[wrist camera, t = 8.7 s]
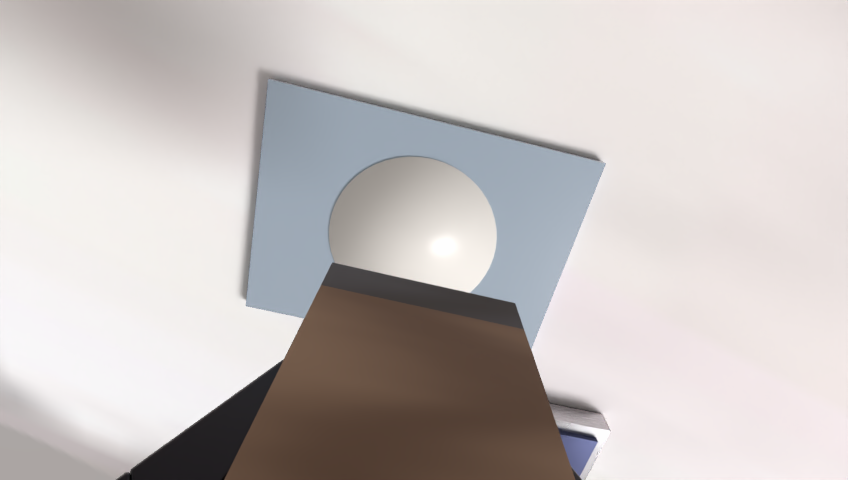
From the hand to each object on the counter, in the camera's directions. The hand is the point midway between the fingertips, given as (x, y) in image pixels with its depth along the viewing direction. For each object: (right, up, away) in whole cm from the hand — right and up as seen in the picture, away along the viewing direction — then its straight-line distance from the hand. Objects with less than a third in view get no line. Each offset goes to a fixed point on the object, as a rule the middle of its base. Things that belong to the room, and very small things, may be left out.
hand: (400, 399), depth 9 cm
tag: (0, +3, +8) cm, 9 cm away
